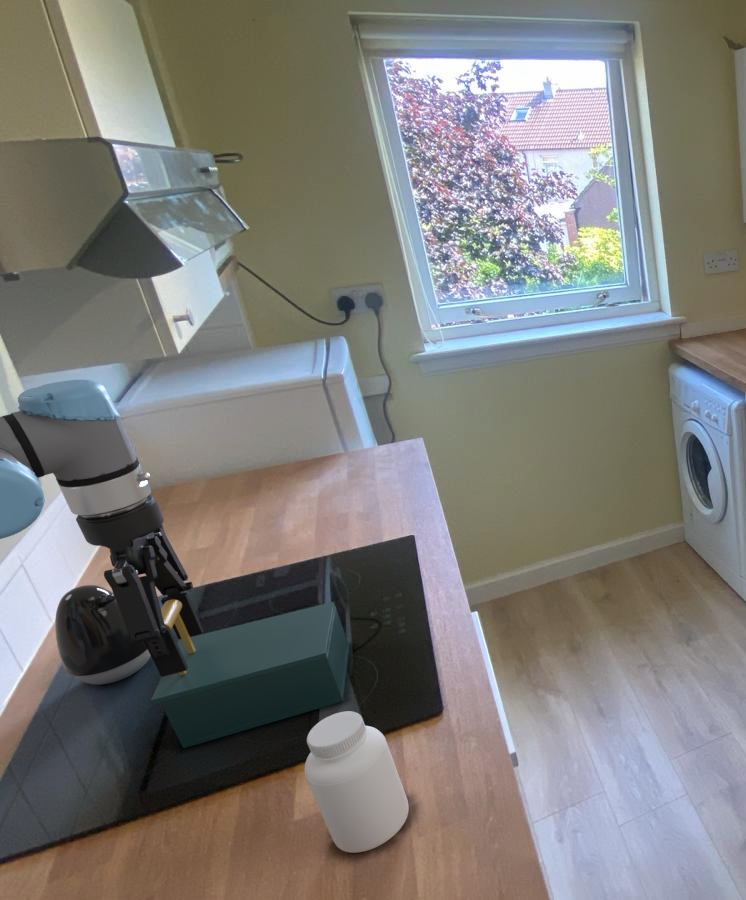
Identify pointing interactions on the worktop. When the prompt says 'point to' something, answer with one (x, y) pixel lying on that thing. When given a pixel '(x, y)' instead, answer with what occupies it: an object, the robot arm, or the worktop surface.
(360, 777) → the pill bottle
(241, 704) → the bin
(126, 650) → the black rounded egg shape
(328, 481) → the worktop surface
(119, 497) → the robot arm
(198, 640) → the bin lid
